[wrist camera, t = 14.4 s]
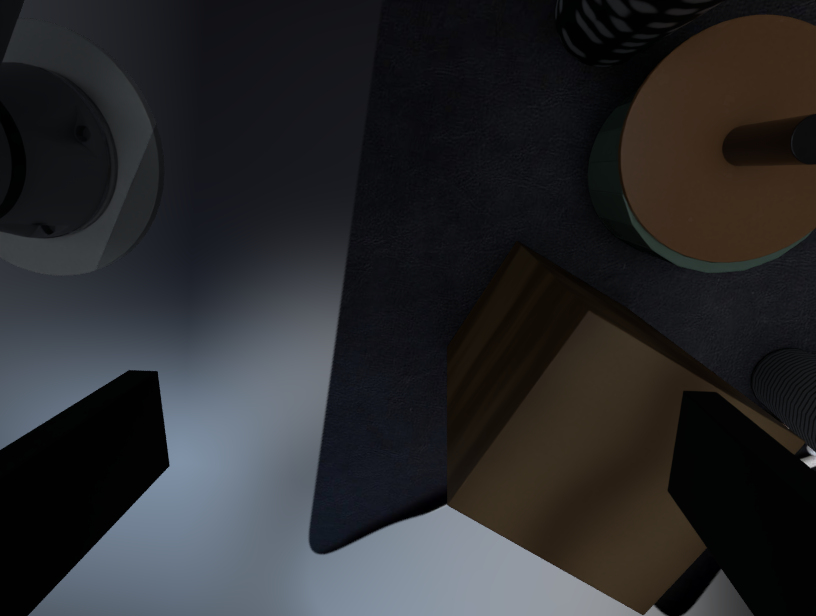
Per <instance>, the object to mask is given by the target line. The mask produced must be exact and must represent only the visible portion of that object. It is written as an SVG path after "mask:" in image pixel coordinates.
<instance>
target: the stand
mask: <svg viewBox="0 0 816 616" xmlns="http://www.w3.org/2000/svg"><path fill="white" fill-rule="evenodd" d="M683 391H708V392H717V393H718V394H720V395H721V396H722V397H723V398H725V399H726V400H727V401H728V402H730V403H731V404H732V405H733V406H735V407H736V408H737V409H738V410H739V411H741V412H742V413H743V414H744V415H746V416H747V417H748V418H749V419H751V420H752V421H753V422H754V423H756V424H757V425H758V426H759V427H760V428H762V429H763V430H764V431H765V432H767V433H768V434H769V435H770V436H772V437H773V438H774V439H775V440H777V441H778V442H779V443H780V444H781V445H783V446H784V447H785V448H786V449H788V450H789V451H790V452H791V453H793V454H795V453H796V452H797V451H798V450H799V449H800V448H801V447H802V446H803V445H804V444H805V440H803V439H802V438H801V437H799V436H798V435H797V434H795V433H794V432H792V431H791V430H790V429H788V428H787V427H786V426H784V425H783V424H782V423H780V422H779V421H778V420H776V419H775V418H774V417H772V416H771V415H770V414H768V413H767V412H766V411H764V410H763V409H762V408H760V407H759V406H758V405H756V404H755V403H754V402H752V401H751V400H750V399H748V398H747V397H746V396H744V395H743V394H742V393H740V392H739V391H738V390H736V389H735V388H734V387H732V386H731V385H730V384H728V383H727V382H726V381H724V380H723V379H722V378H720V377H719V376H717V375H716V374H715V373H713V372H712V371H711V370H709V369H708V368H707V367H705V366H704V365H703V364H701V363H700V362H699V361H697V360H696V359H695V358H693V357H692V356H691V355H689V354H688V353H687V352H685V351H684V350H683V349H681V348H680V347H679V346H677V345H676V344H675V343H673V342H672V341H671V340H669V339H668V338H667V337H665V336H664V335H663V334H661V333H660V332H659V331H657V330H656V329H655V328H653V327H652V326H651V325H649V324H648V323H647V322H645V321H644V320H643V319H641V318H640V317H638V316H637V315H636V314H634V313H633V312H632V311H630V310H629V309H628V308H626V307H625V306H623V305H621V304H620V303H618V302H616V301H615V300H613V299H612V298H610V297H608V296H607V295H605V294H603V293H602V292H600V291H598V290H597V289H595V288H594V287H592V286H590V285H589V284H587V283H585V282H584V281H582V280H580V279H579V278H577V277H576V276H574V275H572V274H571V273H569V272H567V271H566V270H564V269H562V268H561V267H559V266H558V265H556V264H554V263H553V262H551V261H549V260H548V259H546V258H544V257H543V256H541V255H540V254H538V253H536V252H535V251H533V250H531V249H530V248H528V247H526V246H525V245H523V244H522V243H520V242H518V241H516V243H515V244H514V246H513V248H512V249H511V251H510V252H509V254H508V255H507V257H506V258H505V260H504V261H503V263H502V264H501V266H500V267H499V269H498V270H497V272H496V274H495V275H494V277H493V278H492V280H491V281H490V283H489V284H488V286H487V287H486V289H485V290H484V292H483V293H482V295H481V296H480V298H479V299H478V301H477V303H476V304H475V306H474V307H473V309H472V310H471V312H470V313H469V315H468V316H467V318H466V319H465V321H464V322H463V324H462V325H461V327H460V328H459V330H458V332H457V333H456V335H455V336H454V338H453V339H452V341H451V342H450V344H449V345H448V347H447V505H448V506H450V507H451V508H453V509H455V510H457V511H458V512H460V513H462V514H464V515H466V516H468V517H469V518H471V519H473V520H474V521H476V522H478V523H480V524H482V525H483V526H485V527H487V528H489V529H491V530H492V531H494V532H496V533H498V534H499V535H501V536H503V537H505V538H507V539H508V540H510V541H512V542H514V543H515V544H517V545H519V546H521V547H523V548H524V549H526V550H528V551H530V552H531V553H533V554H535V555H537V556H539V557H540V558H542V559H544V560H546V561H547V562H550V563H551V564H553V565H555V566H556V567H558V568H560V569H562V570H563V571H565V572H567V573H569V574H571V575H572V576H574V577H576V578H578V579H579V580H581V581H583V582H585V583H587V584H588V585H590V586H592V587H594V588H595V589H597V590H599V591H601V592H603V593H604V594H606V595H608V596H610V597H611V598H613V599H615V600H617V601H619V602H621V603H622V604H624V605H626V606H627V607H630V608H631V609H633V610H635V611H636V612H638V613H640V614H642V615H644V614H645V613H646V612H647V611H648V610H649V609H650V608H651V607H652V606H653V605H654V604H655V603H656V601H657V600H658V599H659V598H660V597H661V596H662V595H663V594H664V593H665V592H666V591H667V590H668V589H669V588H670V587H671V585H672V584H673V583H674V582H675V581H676V580H677V579H678V578H679V577H680V576H681V575H682V574H683V573H684V572H685V571H686V569H687V568H688V567H689V566H690V565H691V564H692V563H693V562H694V561H695V560H696V559H697V558H698V557H699V556H700V555H701V553H702V552H703V551H704V550H705V549H706V548H707V547H706V546H705V544H704V543H703V541H702V540H701V539H700V537H699V536H698V534H697V533H696V531H695V530H694V528H693V527H692V526H691V524H690V523H689V521H688V520H687V518H686V517H685V516H684V514H683V513H682V511H681V510H680V508H679V507H678V505H677V504H676V503H675V501H674V500H673V498H672V497H671V495H670V494H669V492H668V491H667V490H668V483H669V477H670V471H671V465H672V458H673V452H674V446H675V440H676V433H677V427H678V421H679V415H680V408H681V402H682V396H683Z"/></svg>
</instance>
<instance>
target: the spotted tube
mask: <svg viewBox="0 0 816 616" xmlns="http://www.w3.org/2000/svg"><path fill="white" fill-rule="evenodd" d="M723 1H725V0H557V4H556V9H555V22H556V27H557V32H558V35H559V37H560V40H561V42H562V44H563V45H564V47H565V48H566V50H567V51H568V52H569V53H570V54H571V55H572V56H573V57H574V58H576V59H577V60H579V61H581V62H582V63H585V64H588V65H591V66H597V67H609V66H614V65H618V64H621V63H624V62H626V61H627V60H629V59H631V58H633V57H635V56H636V55H638V54H640V53H641V52H643V51H644V50H646V49H648V48H649V47H651V46H652V45H654V44H656V43H657V42H659V41H660V40H662V39H664V38H665V37H667V36H669V35H670V34H672V33H673V32H675V31H677V30H678V29H680V28H681V27H683V26H685V25H686V24H688V23H689V22H691V21H693V20H694V19H696V18H698V17H699V16H701V15H702V14H704V13H706V12H707V11H709V10H710V9H712V8H714V7H715V6H717V5H718V4H720V3H722V2H723Z"/></svg>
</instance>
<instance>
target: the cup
mask: <svg viewBox="0 0 816 616" xmlns="http://www.w3.org/2000/svg"><path fill="white" fill-rule="evenodd" d="M751 386H752V389H753V392H754V394H755V397H756V398H757V399H758V400H759V401H760V402H762V403H763V404H764V405H765V406H766V407H767V408H768V409H769V410H770V411H771V412H772V413H773V414H775V415H776V416H777V417H778V418H779V419H780V420H781V421H782V422H783V423H784V424H785V425H786V426H788V427H789V428H790V429H791V430H792V431H793V432H794V433H795V434H797V435H798V436H799V437H801V438H802V439H803V440H805V443H806V444H807V445H808V446H809V447H810V448H811V449H813V450H814V451H815V452H816V355H814V354H811V353H808V352H805V351H802V350H799V349H781V350H779V351H776V352H774V353H771V354H769V355H767V356H766V357H765V358H764V359H763V360H762V361H760V362H759V363H758V365H757V367H756V369H755V370H754V372H753V374H752V384H751Z"/></svg>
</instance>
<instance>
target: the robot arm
mask: <svg viewBox="0 0 816 616" xmlns="http://www.w3.org/2000/svg"><path fill="white" fill-rule="evenodd" d="M23 3H24V0H0V232H5V233H9V234H13V235H17V236H22V237H28V238H55V237H61V236H67V235H71V234H74V233H77V232H80V231H82V230H84V229H86V228H87V227H89V226H91V225H92V224H93V223H94V222H96V221H97V220H98V219H99V218H100V217H101V216H102V214H103V213H104V212H105V210H106V209H107V207H108V206H109V204H110V202H111V200H112V197H113V195H114V192H115V188H116V184H117V177H118V157H117V151H116V146H115V142H114V139H113V135H112V132H111V130H110V128H109V125H108V123H107V121H106V120H105V118H104V116H103V114H102V113H101V111H100V110H99V108H98V107H97V105H96V104H95V103H94V101H93V100H92V99H91V98H90V97H89V96H88V95H87V94H86V93H85V92H84V91H83V90H82V89H81V88H80V87H78V86H77V85H76V84H75V83H73V82H72V81H70V80H69V79H67V78H66V77H64V76H62V75H60V74H58V73H56V72H53V71H51V70H48V69H45V68H41V67H37V66H33V65H30V64H24V63H16V62H2V61H3V59H4V56H5V53H6V50H7V47H8V45H9V42H10V39H11V36H12V33H13V31H14V28H15V25H16V22H17V19H18V17H19V14H20V11H21V8H22V5H23ZM168 467H169V458H168V450H167V442H166V434H165V426H164V418H163V411H162V403H161V395H160V387H159V380H158V372H157V371H136V370H134V371H133V370H129V371H127V372H126V373H124V374H122V375H121V376H119V377H117V378H116V379H114V380H113V381H111V382H109V383H108V384H106V385H105V386H103V387H101V388H100V389H98V390H96V391H95V392H93V393H92V394H90V395H88V396H87V397H85V398H83V399H82V400H80V401H79V402H77V403H75V404H74V405H72V406H71V407H69V408H67V409H66V410H64V411H63V412H61V413H59V414H58V415H56V416H54V417H53V418H51V419H50V420H48V421H46V422H45V423H43V424H42V425H40V426H38V427H37V428H35V429H34V430H32V431H30V432H29V433H27V434H25V435H24V436H22V437H21V438H19V439H18V440H16V441H14V442H13V443H11V444H9V445H8V446H6V447H5V448H3V449H1V450H0V616H28V615H29V614H30V613H31V612H32V611H33V610H34V609H35V607H36V606H37V605H38V604H39V603H40V602H41V601H42V600H43V599H44V598H45V597H46V596H47V595H48V594H49V593H50V592H51V591H52V590H53V588H54V587H55V586H56V585H57V584H58V583H59V582H60V581H61V580H62V579H63V578H64V577H65V576H66V575H67V574H68V572H70V570H71V569H72V568H73V567H74V566H75V565H76V564H77V563H78V562H79V561H80V560H81V559H82V558H83V557H84V556H85V555H86V554H87V552H88V551H89V550H90V549H91V548H92V547H93V546H94V545H95V544H96V543H97V542H98V541H99V540H100V539H101V538H102V537H103V535H105V534H106V532H107V531H108V530H109V529H110V528H111V527H112V526H113V525H114V524H115V523H116V522H117V521H118V520H119V519H120V518H121V517H122V516H123V515H124V513H125V512H126V511H127V510H128V509H129V508H130V507H131V506H132V505H133V504H134V503H135V502H136V501H137V500H138V499H139V498H140V497H141V496H142V494H143V493H144V492H145V491H146V490H147V489H148V488H149V487H150V486H151V485H152V484H153V483H154V482H155V480H157V478H159V476H160V475H161V474H162V473H163V472H164V471H165V470H166V469H167V468H168ZM667 491H668V492H669V494H670V495H671V497H672V498H673V500H674V501H675V503H676V504H677V505H678V507H679V508H680V510H681V511H682V513H683V514H684V516H685V517H686V518H687V520H688V521H689V523H690V524H691V526H692V527H693V528H694V530H695V531H696V533H697V534H698V536H699V537H700V539H701V540H702V541H703V543H704V544H705V546H706V547H707V549H708V550H709V551H710V553H711V554H712V556H713V557H714V559H715V560H716V562H717V563H718V564H719V566H720V567H721V569H722V570H723V572H724V573H725V574H726V576H727V577H728V579H729V580H730V582H731V583H732V585H733V586H734V587H735V589H736V590H737V592H738V593H739V595H740V596H741V598H742V599H743V600H744V602H745V603H746V605H747V606H748V608H749V609H750V610H751V612H752V613H753V615H754V616H816V472H815V471H814V470H812V469H811V468H810V467H809V466H807V465H806V464H805V463H804V462H802V461H801V460H800V459H799V458H797V457H796V456H795V455H794V454H793V453H791V452H790V451H789V450H788V449H786V448H785V447H784V446H783V445H781V444H780V443H779V442H778V441H777V440H775V439H774V438H773V437H772V436H770V435H769V434H768V433H767V432H765V431H764V430H763V429H762V428H760V427H759V426H758V425H757V424H756V423H754V422H753V421H752V420H751V419H749V418H748V417H747V416H746V415H744V414H743V413H742V412H741V411H739V410H738V409H737V408H736V407H735V406H733V405H732V404H731V403H730V402H728V401H727V400H726V399H725V398H723V397H722V396H721V395H720V394H718V393H717V392H708V391H683V396H682V402H681V408H680V415H679V421H678V427H677V433H676V440H675V446H674V452H673V458H672V465H671V471H670V477H669V483H668V490H667Z"/></svg>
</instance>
